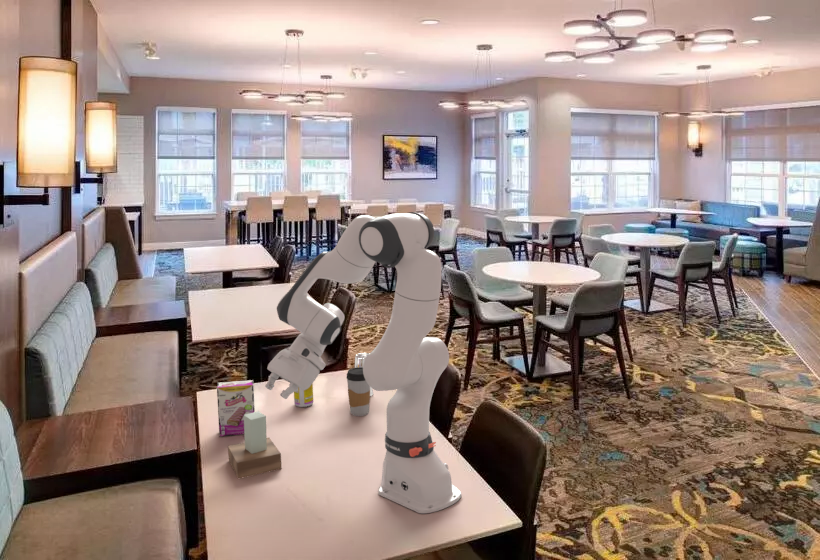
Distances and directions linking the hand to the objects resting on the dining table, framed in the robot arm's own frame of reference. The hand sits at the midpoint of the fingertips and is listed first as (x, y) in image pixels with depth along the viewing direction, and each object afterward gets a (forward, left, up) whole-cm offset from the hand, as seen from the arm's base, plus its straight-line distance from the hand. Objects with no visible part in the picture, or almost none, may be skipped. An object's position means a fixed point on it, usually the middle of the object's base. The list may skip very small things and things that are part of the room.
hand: (275, 392), depth 181 cm
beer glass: (+26, -48, -20) cm, 58 cm away
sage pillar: (0, +7, -15) cm, 17 cm away
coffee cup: (+13, -37, -20) cm, 44 cm away
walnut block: (0, +7, -20) cm, 21 cm away
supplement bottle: (+32, -26, -20) cm, 46 cm away
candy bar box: (+24, +2, -20) cm, 31 cm away
